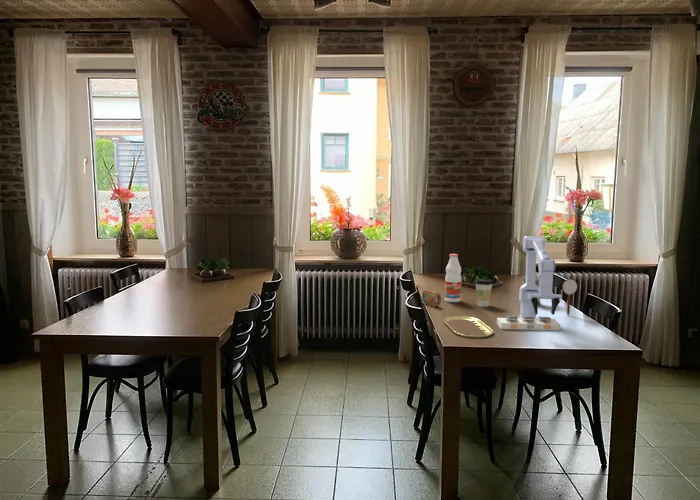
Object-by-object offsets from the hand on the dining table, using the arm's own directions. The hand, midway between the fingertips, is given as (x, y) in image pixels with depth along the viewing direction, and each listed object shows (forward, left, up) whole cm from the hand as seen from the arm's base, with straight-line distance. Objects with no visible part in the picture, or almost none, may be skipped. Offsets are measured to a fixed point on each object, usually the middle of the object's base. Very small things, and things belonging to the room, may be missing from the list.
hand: (544, 314), depth 248 cm
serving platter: (-10, -34, -11) cm, 37 cm away
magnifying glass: (-37, +23, -10) cm, 45 cm away
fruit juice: (-68, -34, -10) cm, 76 cm away
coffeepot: (-63, +12, -10) cm, 65 cm away
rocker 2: (-14, -4, -6) cm, 15 cm away
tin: (-56, -47, -10) cm, 74 cm away
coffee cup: (-57, -18, -10) cm, 60 cm away
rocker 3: (-14, +4, -6) cm, 15 cm away
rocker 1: (-14, -12, -6) cm, 19 cm away
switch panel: (-14, -4, -10) cm, 17 cm away
